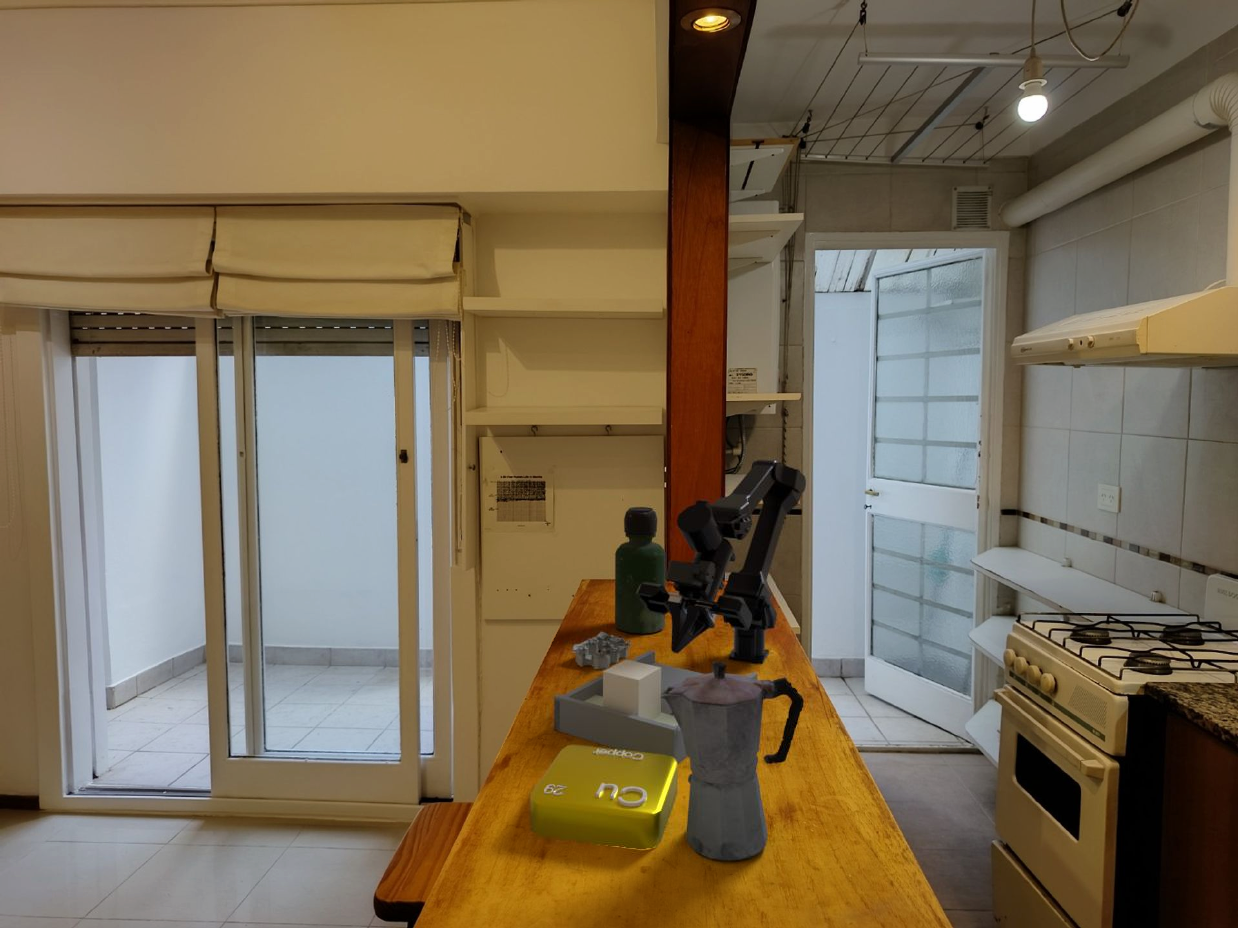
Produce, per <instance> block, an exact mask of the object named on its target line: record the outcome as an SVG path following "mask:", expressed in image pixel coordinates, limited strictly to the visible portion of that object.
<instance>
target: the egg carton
mask: <svg viewBox="0 0 1238 928" xmlns="http://www.w3.org/2000/svg"><path fill="white" fill-rule="evenodd" d="M631 644H632V641H631V640H628V642H627V641H625V639H624V637H618V636H615V635H613V634H610V635H609V634H607V633H606V632H604V631H600V632H599V633H598V634H596V635H595V636H593V637H588V639H587V640H584V641H582V642H581V643H578V644H577V643H575V644H574V645H573V647H572V653H575V663H576V662H578V663H577V666H578V665H580V666H579V667H584V666H583V665H593V666H594V667H593V666H592V667H593V670H596V669H599V670H607V669H609V667H610V668H611V666H610V665H611V664H618V663H619V662H618V661H620V659H626V658H628V657H629V648H630V647H631ZM598 649H599V650H601V651H600V652H599V650H598ZM603 668H605V669H603Z"/></svg>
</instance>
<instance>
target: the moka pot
mask: <svg viewBox="0 0 1238 928" xmlns="http://www.w3.org/2000/svg"><path fill="white" fill-rule="evenodd" d="M711 669H712V671H713V672H710V673H703V674H704V675H698V676H694V677H689V678H686V679H685V680H684V681H683V682H682V683H681V684H676V685H673V686H669V687H668V689H666V690H664V691H663V692H662V693H661V695H660V697H661V698H663V699H665V700H666V701H667V703H668V705H669V707H670V709H671V711H672V713H673V715H674V717H675V719H676V721H677V723H678V725H679V727H680V728H681V731H682V733H683V739H684V745H685V751H686V754H687V757H688V758H689V767H690V770H691V774H689V775H688V777H687V783H689V785H690V786H689V795H688V796H689V797H688V810H687V818H686V820H687V822H686V833H685V834H686V836H685V839H686V841H687V843H688V844H689V846H690V847H691V849H692V850H694V851H695V852H696V853H698V854H699V855H701V856H703V857H705V858H706V857H707V858H709V859H711V860H712V859H713V860H718V861H724V862H725V861H726V862H729V861H736V860H737V861H738V860H739V861H740V860H747V859H749V858H752V857H754V856H755V855H757V854H759V853H760V852H761V851H762V850H764V848H765V847H766V846H767V840H768V835H769V833H768V827H767V822H766V816H765V812H764V811H765V810H764V806H763V801H762V796H761V788H760V782H759V777H758V772H757V768H758V766H757V765H758V762H759V757H758V756H757V755H758V752H759V750H760V744H761V743H760V742H761V741H760V740H761V732H762V731H761V730H762V719H763V707H764V700H772V699H777V698H778V697H780V696H787V697H788V698H789V699H790V701H791V704H790V706H789V708H788V712H787V713H788V715H787V718H786V720H785V725H784V728H783V732H782V733H783V734H782V736H781V737H782V740H781V742H780V745H779V748H778V749H777V751H776V752H775V753H774V754H765V756H762V758H763V760H764V761H765V764H766V765H768V764H769V765H772V764H781V763H784V762H786V759H787V757H788V754H789V752H790V749H791V745H792V741H793V740H794V735H795V732H796V731H795V730H796V729H797V725H798V724H799V723H798V722H799V718H800V716H801V712H803V708H804V701H805V700H804V698H803V696H802V695H801V694H800V693H799V692H798V690H797V688H795V687H793V686H792V683H791V682H790V681H788V679H787V678H786V677H782V678H776V679H773V680H771V679H759V680H757V681H755V680H753V679H751V678H749V677H748V675H747V674H737V673H736V674H734V673H726V669H727V663H726V662H722V661H715V662H713V663H711Z"/></svg>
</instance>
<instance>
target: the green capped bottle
mask: <svg viewBox="0 0 1238 928" xmlns="http://www.w3.org/2000/svg"><path fill="white" fill-rule="evenodd" d="M623 527H624V529H623V531H624V533H625V537H626V538H627V539H628V541H626V542H623V543H621V544H620V545H619V546H618V547H617V548H616V550H615V553H614V561H615V562H614V626H615V627H616V628H617V629H618V630H619V631H622V632H624V633H627V634H628V633H629V634H638V635H639V634H640V635H643V634H652V633H653V634H654V633H657V632H659V631H662V630H663V629H664V628H665V626H666V614H665V615H662V614H656V613H651V612H649V611H648V610H647V609H646V608H645V607H644V605H643V604H642V602H641V601H640V600H639V598H638V597H637V595H636V593H637V590H638V588H639V586H640V585H641V584H642V583H644V582H649V583H655V584H661V585H663V586H664V587H665V588H666V564H667V563H666V561H667V559H666V556H667V554H666V551H665V548H664V547H663V546H661V544H659V543H657V542H654V541H653V539H654V538H656V536H657V533H658V515H657V513H656V511H655V510H654V509H653V508H652V507H646V506H645V507H644V506H638V507H636V506H635V507H629V508H628V510H626V511H625V514H624V518H623Z"/></svg>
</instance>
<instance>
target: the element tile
mask: <svg viewBox="0 0 1238 928" xmlns="http://www.w3.org/2000/svg"><path fill="white" fill-rule="evenodd" d="M678 765H679V763H677V761H676V759H674V757H672V756H668V755H662V754H654V753H645V752H636V751H628V750H619V749H615V748H611V747H602V746H591V745H583V744H568V745H566V746H564V747H563V748H562V749H561V750H560V752H559V753H557V756H556V757H555V759H554V760H553V761H552V762H551V764H550V765H549V767H548V768H547V769H546V771H545V772H544V774H543V776H542V777H541V778H540V779H539V780H538V782H537V784H536V785H535V787H534V788H533V790H532V791H531V793H530V796H529V806H530V807H529V814H530V815H529V816H530V817H529V823H530V825H529V826H530V831H531V832H532V834H534V835H536V836H539V837H543V838H550V839H558V840H563V841H568V842H569V841H571V842H576V843H577V842H578V843H583V844H584V843H585V844H590V843H592V844H591V845H596V844H600V845H599V846H603V845H608V846H607V847H610V846H619V847H626V848H636V849H646V848H653V847H655V846H657V845H658V844H659V843H660V842H661V843H662V841H661V839H662V840H663V838H664V835H663V834H665V832H664V831H666V829H665V828H667V826H666V825H668V822H669V820H670V816H671V813H672V811H671V810H673V807H674V805H675V801H676V799H677V797H678V779H679V778H678V769H679V768H678ZM668 819H669V820H668ZM662 837H663V838H662ZM661 843H660V844H661ZM657 847H658V846H657Z"/></svg>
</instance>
